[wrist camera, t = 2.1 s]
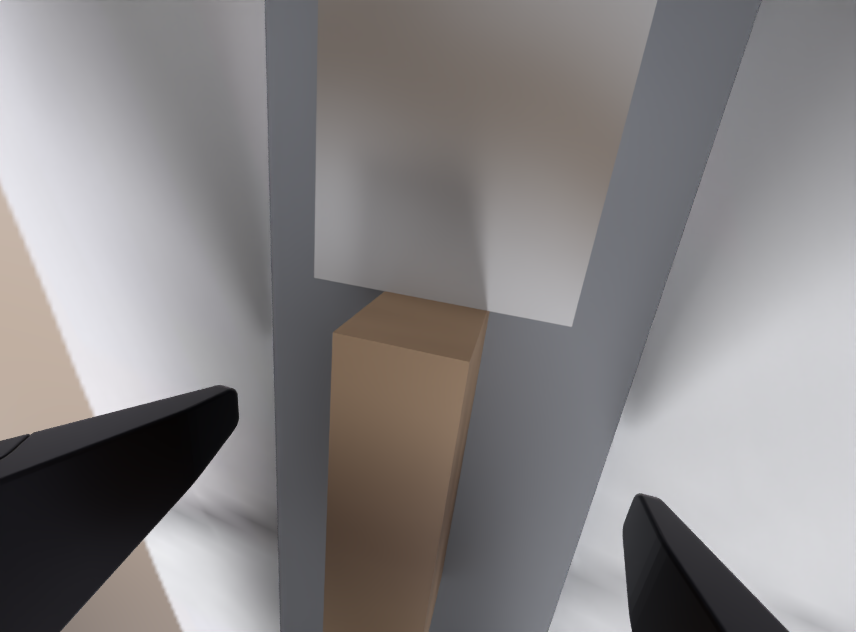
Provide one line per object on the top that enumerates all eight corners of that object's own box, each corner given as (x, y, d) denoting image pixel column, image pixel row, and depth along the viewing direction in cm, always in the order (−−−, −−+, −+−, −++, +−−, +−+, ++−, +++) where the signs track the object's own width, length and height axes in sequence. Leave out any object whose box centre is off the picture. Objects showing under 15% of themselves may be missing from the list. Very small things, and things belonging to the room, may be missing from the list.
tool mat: (517, 697, 13) (517, 721, 12) (290, 614, 14) (280, 632, 14) (866, -366, 5) (907, -434, 4) (279, -304, 6) (256, -348, 6)
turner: (497, 592, 11) (483, 735, 8) (324, 537, 12) (259, 648, 9) (669, -81, 6) (788, -308, 3) (343, -83, 7) (210, -258, 4)
